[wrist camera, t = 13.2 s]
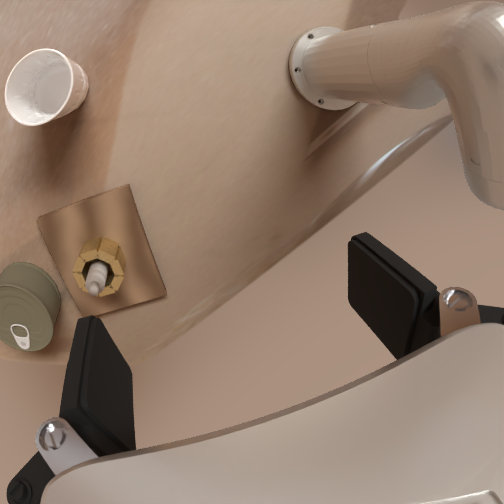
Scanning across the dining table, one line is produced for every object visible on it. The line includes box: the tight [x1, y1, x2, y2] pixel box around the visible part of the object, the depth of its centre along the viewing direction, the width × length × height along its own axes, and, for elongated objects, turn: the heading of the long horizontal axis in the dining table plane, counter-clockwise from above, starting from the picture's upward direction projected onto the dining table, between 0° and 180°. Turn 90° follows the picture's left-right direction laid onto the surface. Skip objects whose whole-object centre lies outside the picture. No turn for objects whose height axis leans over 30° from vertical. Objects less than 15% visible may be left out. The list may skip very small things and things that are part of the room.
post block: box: [36, 184, 167, 317], centre depth 37 cm, size 14×17×10 cm
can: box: [0, 262, 61, 351], centre depth 37 cm, size 12×12×7 cm
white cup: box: [5, 49, 89, 126], centre depth 26 cm, size 8×8×10 cm
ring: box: [73, 236, 126, 297], centre depth 38 cm, size 7×7×4 cm
